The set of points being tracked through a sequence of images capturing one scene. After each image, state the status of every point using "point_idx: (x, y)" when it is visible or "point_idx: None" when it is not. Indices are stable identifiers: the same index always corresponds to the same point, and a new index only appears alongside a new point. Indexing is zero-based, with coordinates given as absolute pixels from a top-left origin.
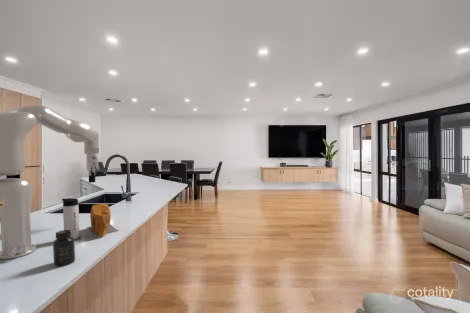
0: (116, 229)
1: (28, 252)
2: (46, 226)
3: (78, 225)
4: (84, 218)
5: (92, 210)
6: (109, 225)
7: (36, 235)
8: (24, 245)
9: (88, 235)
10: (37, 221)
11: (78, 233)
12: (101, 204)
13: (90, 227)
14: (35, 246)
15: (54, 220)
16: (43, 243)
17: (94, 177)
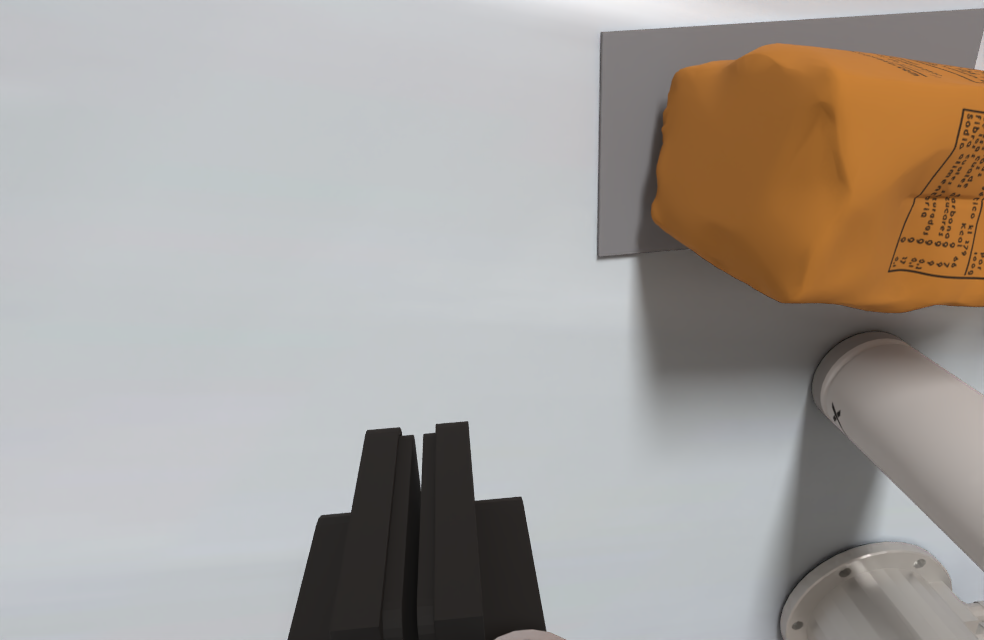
0: (939, 13)
1: (943, 568)
2: (288, 538)
3: (977, 391)
4: (128, 245)
5: (937, 304)
6: (721, 46)
7: (543, 568)
8: (972, 617)
9: None
10: (19, 610)
11: (927, 357)
12: (882, 187)
13: (641, 232)
14: (883, 554)
15: (57, 500)
16: (789, 518)
17: (476, 565)
